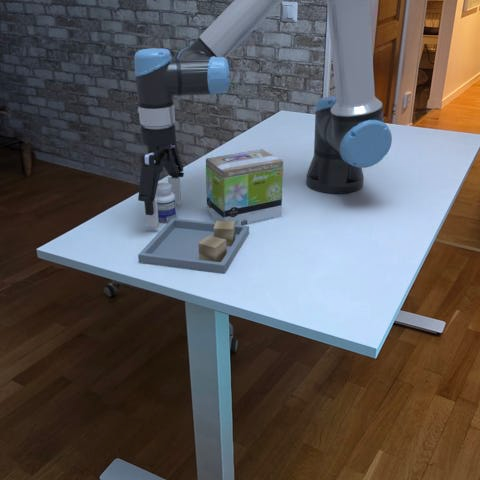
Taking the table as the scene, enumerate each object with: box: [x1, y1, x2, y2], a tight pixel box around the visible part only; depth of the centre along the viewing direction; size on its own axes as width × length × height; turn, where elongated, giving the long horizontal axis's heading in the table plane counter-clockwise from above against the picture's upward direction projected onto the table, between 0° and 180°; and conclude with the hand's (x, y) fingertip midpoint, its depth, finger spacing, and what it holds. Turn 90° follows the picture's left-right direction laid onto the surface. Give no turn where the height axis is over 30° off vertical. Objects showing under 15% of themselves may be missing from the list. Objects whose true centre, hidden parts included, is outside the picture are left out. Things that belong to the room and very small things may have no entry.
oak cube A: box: [214, 220, 235, 246], centre depth 120 cm, size 4×4×4 cm
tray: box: [137, 218, 250, 275], centre depth 118 cm, size 18×18×2 cm
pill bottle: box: [155, 182, 178, 225], centre depth 130 cm, size 5×5×9 cm
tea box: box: [205, 148, 284, 226], centre depth 130 cm, size 15×10×15 cm, turn 117°
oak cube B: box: [198, 235, 227, 262], centre depth 113 cm, size 4×4×4 cm
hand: (164, 214), depth 131 cm, fingers open, 13 cm apart
